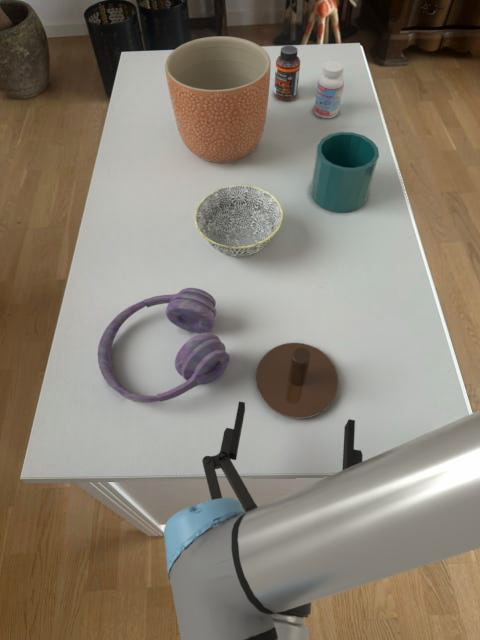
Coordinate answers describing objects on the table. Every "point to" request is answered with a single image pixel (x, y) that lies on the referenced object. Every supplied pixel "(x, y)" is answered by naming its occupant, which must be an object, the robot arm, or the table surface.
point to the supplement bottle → (287, 74)
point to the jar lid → (296, 380)
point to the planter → (219, 95)
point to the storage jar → (343, 171)
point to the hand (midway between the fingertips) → (295, 414)
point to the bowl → (239, 219)
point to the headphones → (195, 355)
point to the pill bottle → (329, 90)
